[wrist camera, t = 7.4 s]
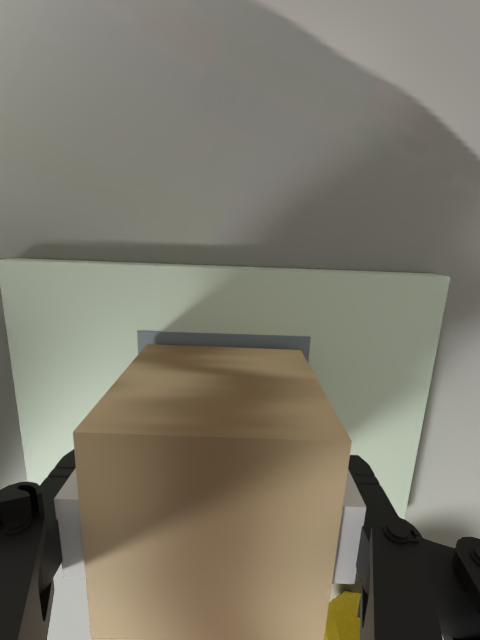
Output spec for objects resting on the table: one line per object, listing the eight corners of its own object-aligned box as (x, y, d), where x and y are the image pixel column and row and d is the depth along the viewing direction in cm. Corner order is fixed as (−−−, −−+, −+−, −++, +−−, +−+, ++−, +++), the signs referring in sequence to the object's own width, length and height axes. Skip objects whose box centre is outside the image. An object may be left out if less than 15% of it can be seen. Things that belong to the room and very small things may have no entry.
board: (45, 505, 19) (32, 524, 18) (14, 258, 16) (-5, 259, 14) (392, 514, 19) (402, 533, 18) (434, 273, 16) (451, 276, 15)
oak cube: (150, 476, 17) (91, 639, 10) (146, 344, 15) (72, 432, 8) (288, 480, 17) (323, 644, 10) (300, 349, 15) (351, 441, 8)
